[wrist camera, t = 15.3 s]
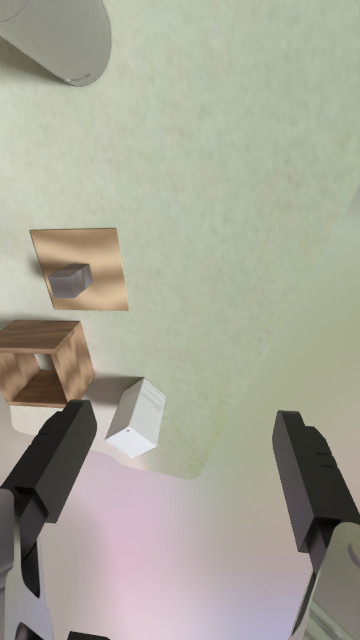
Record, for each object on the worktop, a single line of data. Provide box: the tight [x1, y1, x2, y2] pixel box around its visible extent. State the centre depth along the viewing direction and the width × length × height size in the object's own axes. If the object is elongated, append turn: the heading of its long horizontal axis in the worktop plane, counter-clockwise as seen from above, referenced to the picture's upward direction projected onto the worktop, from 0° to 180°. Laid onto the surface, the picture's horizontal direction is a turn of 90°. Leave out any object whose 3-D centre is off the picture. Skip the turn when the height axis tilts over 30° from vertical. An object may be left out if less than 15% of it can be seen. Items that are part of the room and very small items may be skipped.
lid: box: [30, 228, 129, 311], centre depth 41 cm, size 15×15×8 cm
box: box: [0, 321, 95, 408], centre depth 49 cm, size 14×14×10 cm
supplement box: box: [105, 378, 166, 459], centre depth 51 cm, size 7×7×13 cm
